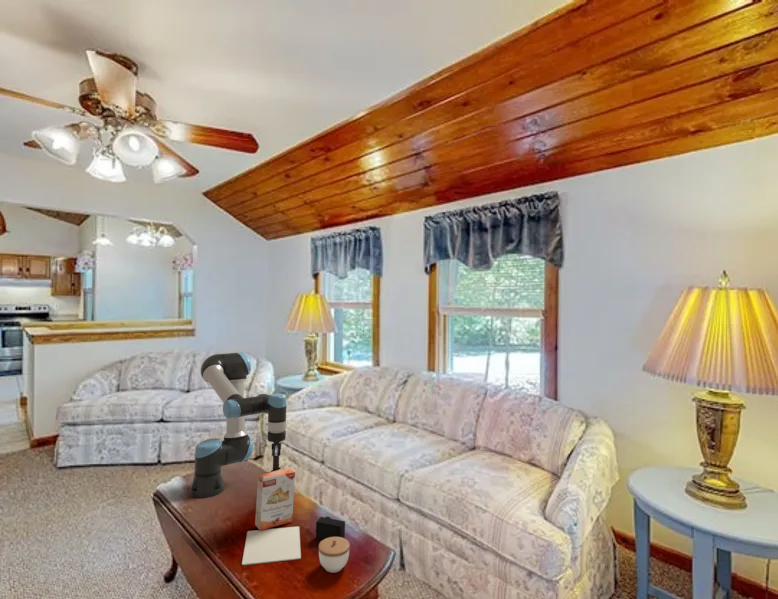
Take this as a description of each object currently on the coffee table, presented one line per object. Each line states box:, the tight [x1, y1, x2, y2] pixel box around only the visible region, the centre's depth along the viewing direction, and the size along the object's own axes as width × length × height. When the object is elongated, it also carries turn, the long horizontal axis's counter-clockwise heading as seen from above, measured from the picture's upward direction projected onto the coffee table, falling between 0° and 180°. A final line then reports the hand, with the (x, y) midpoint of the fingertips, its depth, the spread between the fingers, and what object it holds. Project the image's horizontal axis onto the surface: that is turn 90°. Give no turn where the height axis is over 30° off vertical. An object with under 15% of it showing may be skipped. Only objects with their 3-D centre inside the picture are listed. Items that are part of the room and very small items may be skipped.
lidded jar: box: [318, 537, 351, 574], centre depth 150 cm, size 11×11×9 cm
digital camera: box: [315, 516, 346, 542], centre depth 168 cm, size 10×5×7 cm, turn 73°
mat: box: [241, 526, 302, 566], centre depth 163 cm, size 22×20×1 cm
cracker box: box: [254, 468, 296, 531], centre depth 177 cm, size 14×6×21 cm, turn 128°
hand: (275, 486), depth 185 cm, fingers closed
